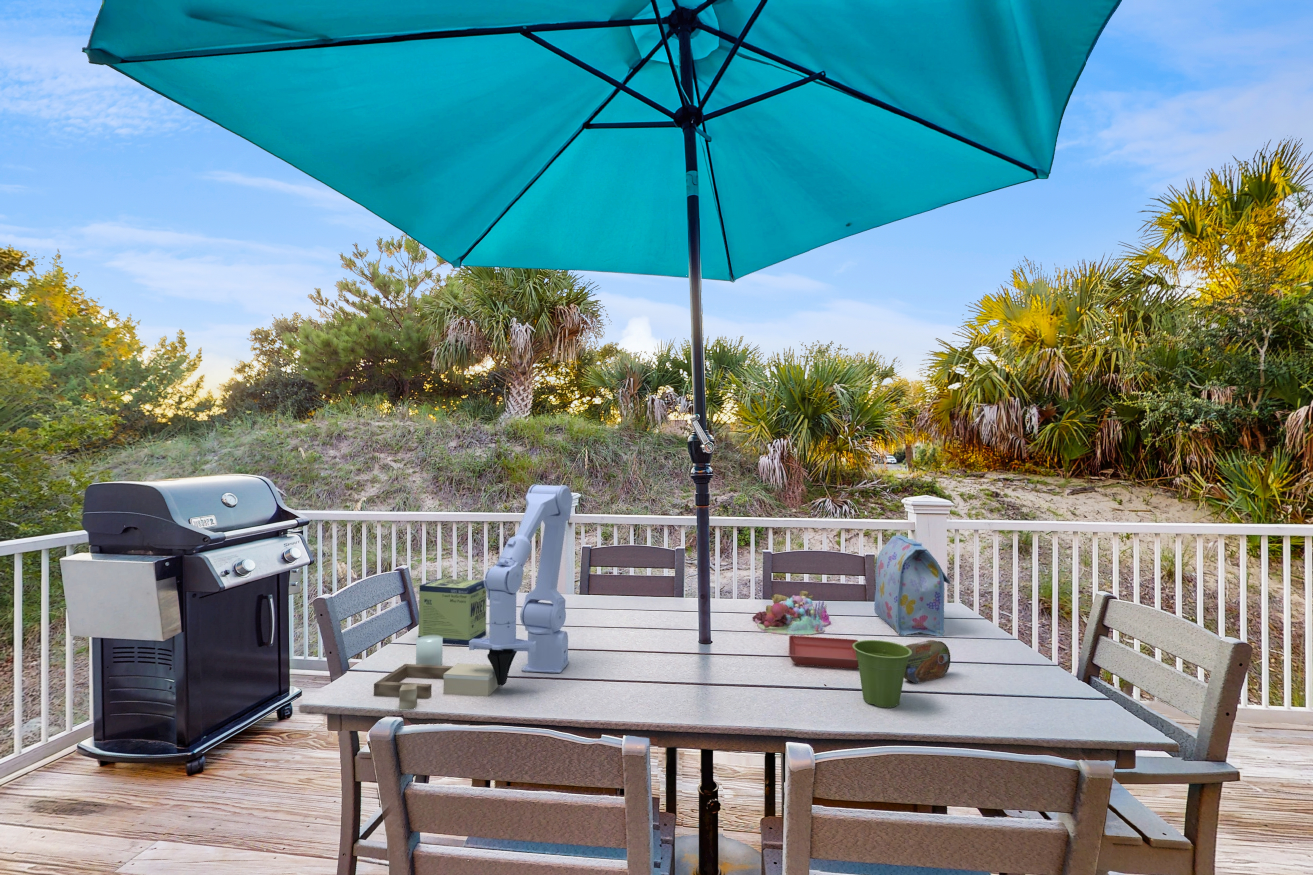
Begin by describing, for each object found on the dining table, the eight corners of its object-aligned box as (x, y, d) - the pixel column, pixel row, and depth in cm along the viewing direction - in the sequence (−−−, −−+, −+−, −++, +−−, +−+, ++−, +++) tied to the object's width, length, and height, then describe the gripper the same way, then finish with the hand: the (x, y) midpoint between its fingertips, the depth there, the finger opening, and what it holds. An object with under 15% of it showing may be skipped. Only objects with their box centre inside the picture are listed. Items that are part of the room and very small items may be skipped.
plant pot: (880, 716, 127) (880, 659, 127) (840, 695, 138) (840, 643, 138) (925, 707, 132) (924, 652, 132) (883, 688, 143) (883, 637, 143)
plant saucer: (788, 646, 174) (788, 634, 175) (858, 651, 171) (858, 638, 171) (788, 668, 157) (788, 654, 157) (865, 674, 153) (865, 660, 153)
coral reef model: (744, 615, 207) (744, 586, 207) (815, 613, 210) (815, 585, 210) (766, 637, 182) (766, 605, 183) (846, 635, 185) (846, 603, 185)
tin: (906, 685, 144) (906, 648, 145) (895, 681, 147) (895, 644, 147) (951, 675, 151) (951, 639, 152) (940, 671, 154) (940, 636, 154)
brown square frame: (454, 677, 148) (454, 666, 148) (428, 698, 135) (428, 686, 135) (404, 674, 150) (405, 663, 150) (373, 695, 137) (373, 683, 137)
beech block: (417, 703, 133) (417, 683, 133) (414, 708, 130) (415, 688, 130) (401, 704, 132) (401, 684, 132) (399, 710, 129) (399, 690, 129)
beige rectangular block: (500, 685, 144) (500, 665, 144) (488, 697, 137) (488, 676, 137) (457, 683, 145) (457, 663, 145) (443, 694, 138) (443, 673, 138)
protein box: (469, 645, 172) (470, 587, 173) (417, 641, 176) (418, 584, 176) (487, 634, 183) (488, 580, 183) (437, 631, 186) (438, 577, 186)
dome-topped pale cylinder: (446, 664, 157) (446, 635, 158) (435, 672, 151) (435, 642, 152) (423, 662, 158) (423, 634, 158) (411, 671, 152) (411, 641, 152)
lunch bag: (955, 637, 182) (955, 544, 183) (896, 637, 183) (896, 543, 183) (923, 617, 205) (923, 534, 206) (871, 616, 205) (870, 533, 206)
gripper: (463, 624, 137) (462, 688, 137) (529, 627, 136) (528, 691, 135) (476, 616, 144) (475, 677, 144) (539, 618, 143) (538, 680, 142)
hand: (502, 683), depth 140 cm, fingers closed
